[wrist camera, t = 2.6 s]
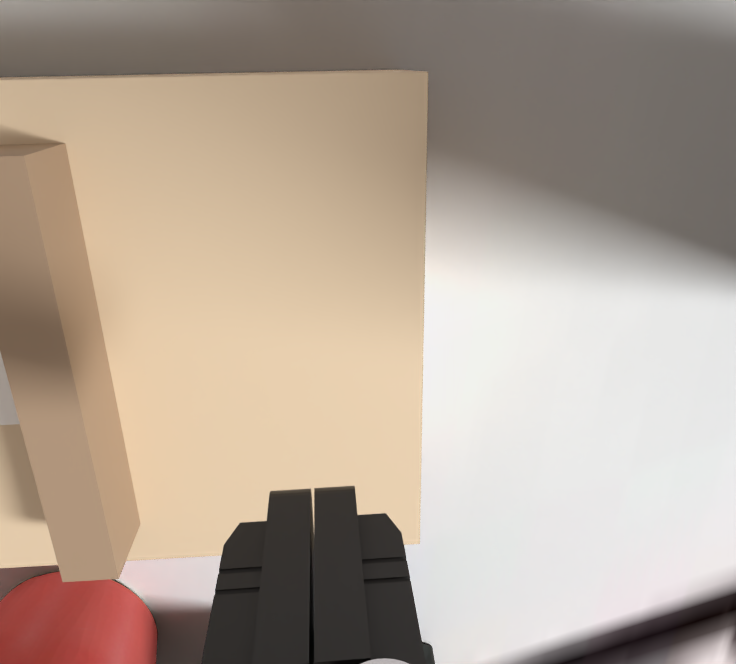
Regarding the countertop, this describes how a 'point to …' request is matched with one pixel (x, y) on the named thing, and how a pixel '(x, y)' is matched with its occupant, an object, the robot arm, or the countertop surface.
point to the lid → (205, 307)
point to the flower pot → (75, 623)
